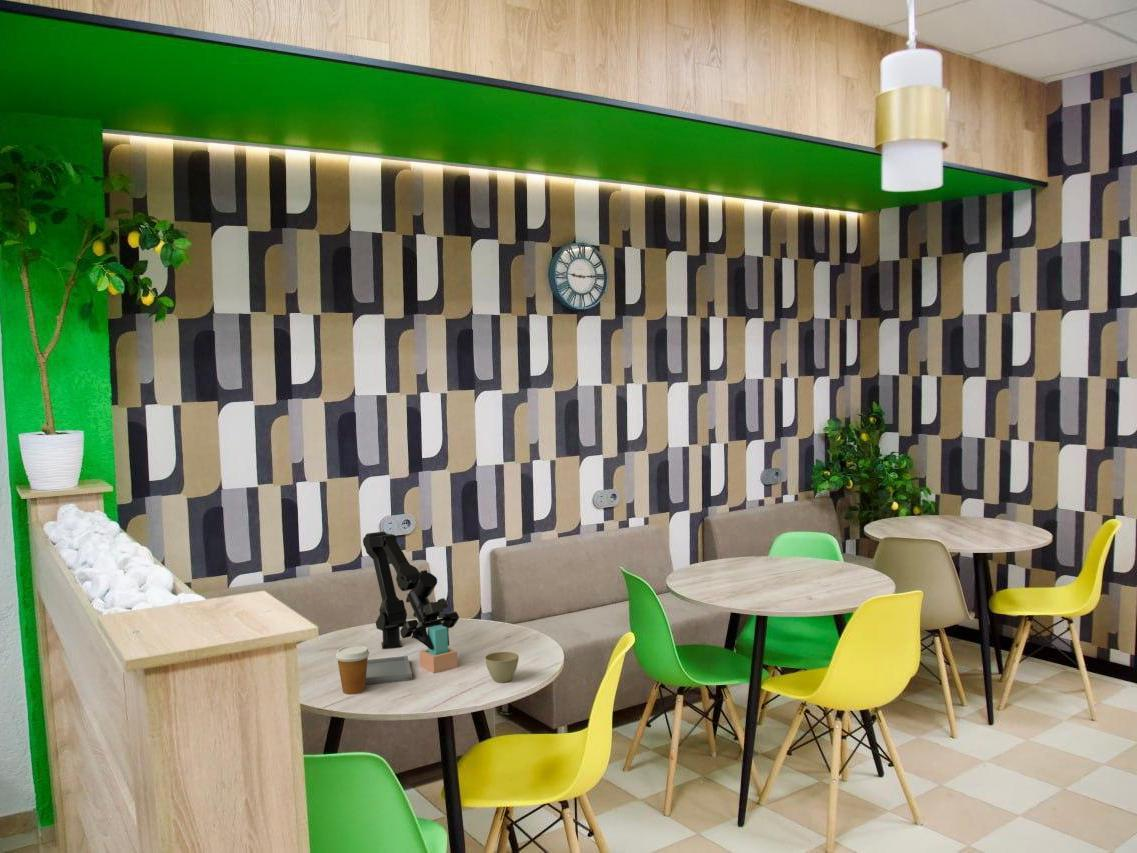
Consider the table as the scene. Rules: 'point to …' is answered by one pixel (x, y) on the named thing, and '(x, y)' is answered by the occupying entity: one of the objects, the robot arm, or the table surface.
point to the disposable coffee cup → (353, 668)
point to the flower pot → (502, 665)
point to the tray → (388, 670)
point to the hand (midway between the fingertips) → (440, 647)
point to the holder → (438, 661)
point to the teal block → (438, 639)
